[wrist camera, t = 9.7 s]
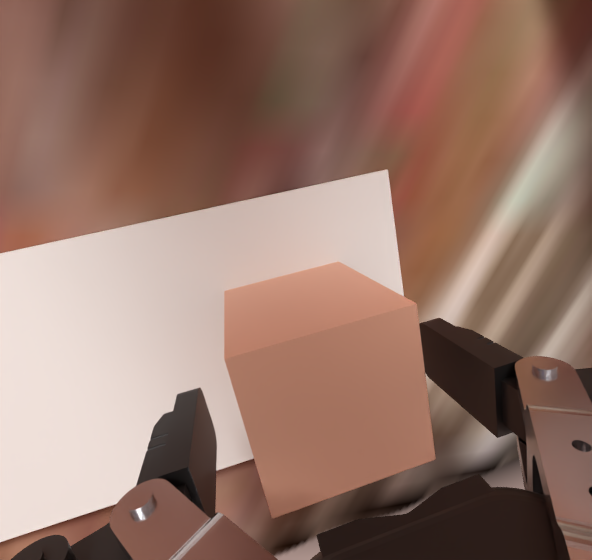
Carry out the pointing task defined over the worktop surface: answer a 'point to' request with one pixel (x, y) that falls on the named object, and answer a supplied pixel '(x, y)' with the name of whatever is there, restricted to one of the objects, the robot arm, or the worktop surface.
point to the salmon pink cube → (327, 382)
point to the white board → (150, 334)
